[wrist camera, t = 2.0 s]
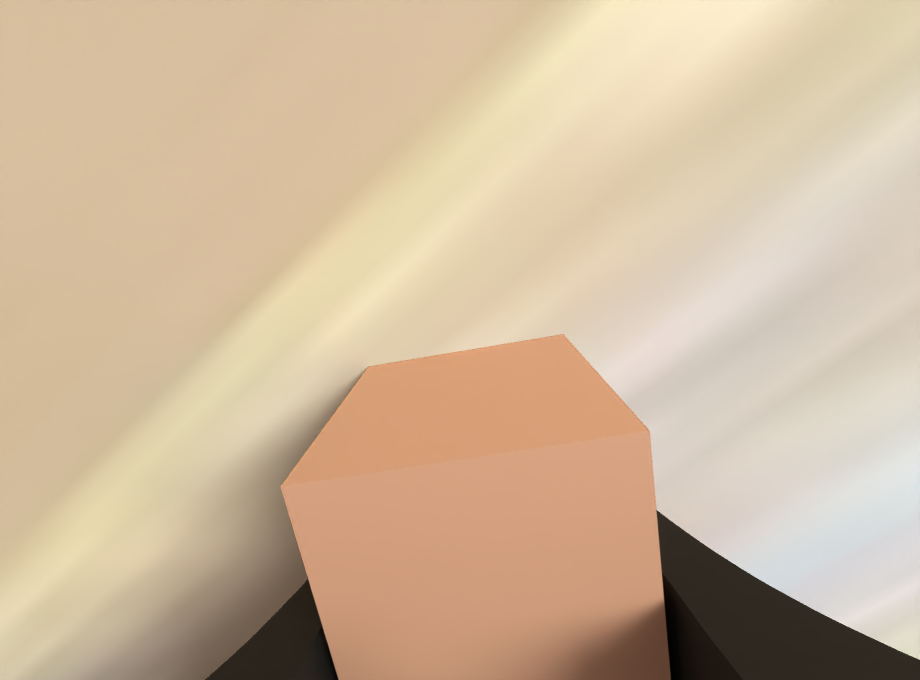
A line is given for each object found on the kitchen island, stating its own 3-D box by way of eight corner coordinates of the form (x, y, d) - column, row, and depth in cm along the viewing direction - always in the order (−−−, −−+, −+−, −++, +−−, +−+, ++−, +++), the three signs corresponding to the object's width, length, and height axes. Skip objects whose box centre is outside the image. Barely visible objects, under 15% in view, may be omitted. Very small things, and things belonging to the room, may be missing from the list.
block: (563, 334, 10) (649, 430, 5) (599, 624, 12) (688, 892, 7) (368, 366, 10) (280, 486, 6) (433, 645, 12) (410, 917, 7)
